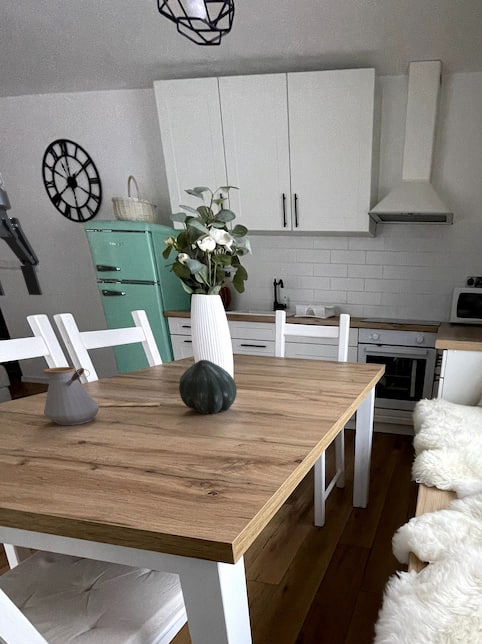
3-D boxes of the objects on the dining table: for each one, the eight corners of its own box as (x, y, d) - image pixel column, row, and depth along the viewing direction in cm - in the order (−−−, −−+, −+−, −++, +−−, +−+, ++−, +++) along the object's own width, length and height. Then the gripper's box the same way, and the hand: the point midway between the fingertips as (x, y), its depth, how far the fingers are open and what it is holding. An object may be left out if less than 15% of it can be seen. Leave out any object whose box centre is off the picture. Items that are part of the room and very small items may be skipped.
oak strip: (69, 407, 111) (68, 405, 111) (74, 404, 114) (74, 403, 114) (158, 406, 114) (157, 405, 114) (161, 403, 117) (161, 402, 116)
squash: (215, 381, 120) (183, 346, 107) (253, 389, 115) (225, 353, 101) (192, 420, 116) (155, 388, 103) (230, 430, 110) (197, 398, 97)
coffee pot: (40, 421, 99) (20, 359, 93) (91, 411, 107) (75, 354, 101) (73, 440, 87) (51, 371, 81) (127, 428, 96) (111, 365, 89)
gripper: (4, 197, 95) (33, 294, 104) (-91, 168, 72) (-42, 295, 81) (38, 198, 95) (64, 295, 105) (-46, 170, 73) (-3, 296, 82)
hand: (18, 295), depth 93 cm, fingers open, 13 cm apart
